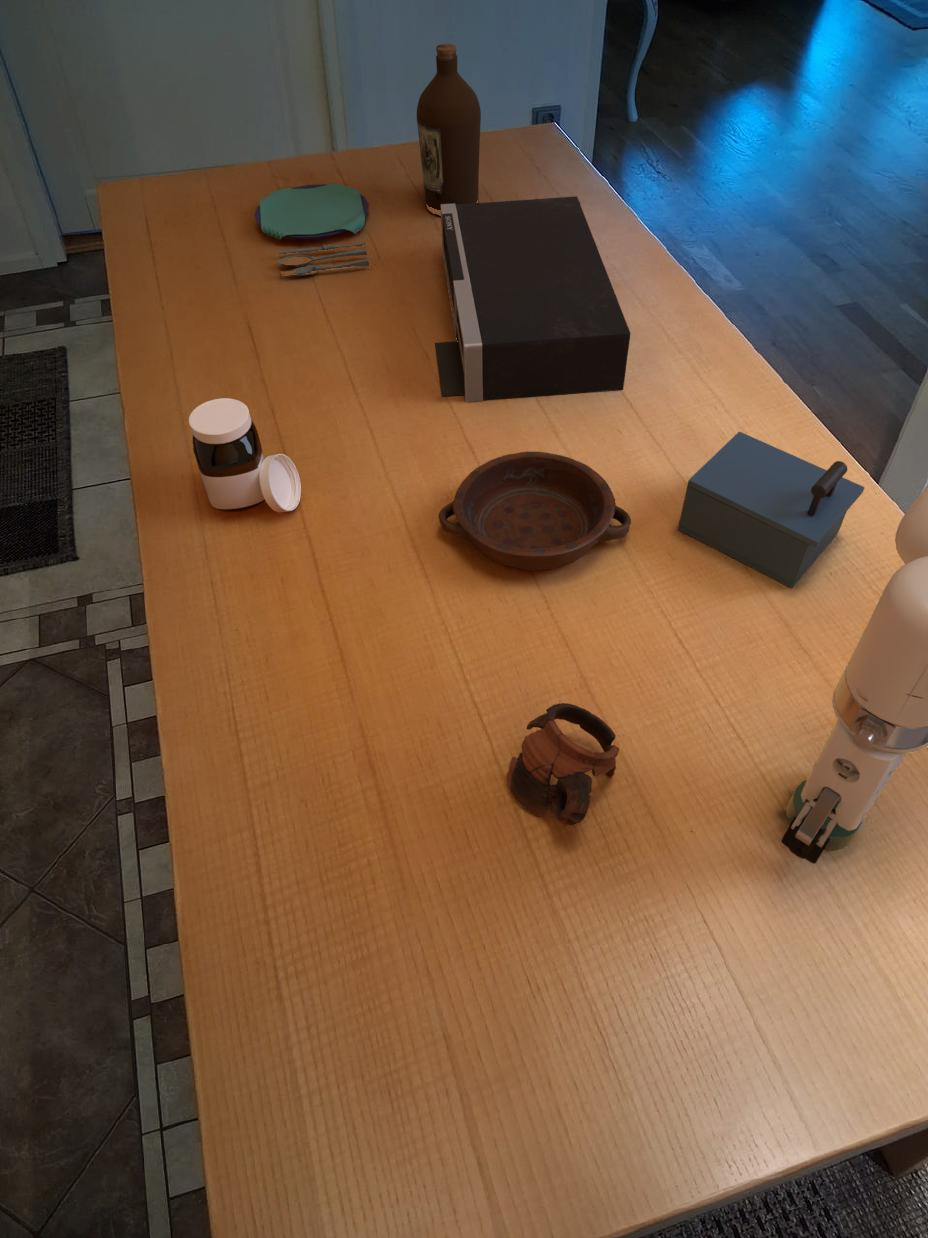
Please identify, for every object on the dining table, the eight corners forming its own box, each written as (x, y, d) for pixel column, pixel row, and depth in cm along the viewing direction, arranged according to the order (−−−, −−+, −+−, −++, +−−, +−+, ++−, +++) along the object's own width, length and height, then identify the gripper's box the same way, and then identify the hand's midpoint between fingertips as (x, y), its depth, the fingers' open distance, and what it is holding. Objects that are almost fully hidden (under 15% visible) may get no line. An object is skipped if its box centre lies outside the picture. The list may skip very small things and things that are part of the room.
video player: (623, 390, 123) (630, 332, 116) (442, 404, 122) (439, 347, 115) (572, 247, 149) (576, 194, 142) (423, 258, 147) (420, 204, 141)
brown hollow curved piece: (491, 751, 86) (527, 686, 82) (576, 770, 89) (614, 708, 86) (516, 847, 76) (559, 778, 73) (611, 864, 80) (656, 799, 76)
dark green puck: (846, 790, 82) (854, 776, 80) (863, 851, 78) (872, 838, 76) (780, 789, 82) (786, 775, 80) (793, 850, 78) (801, 837, 76)
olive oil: (461, 187, 164) (457, 30, 145) (493, 208, 158) (493, 48, 139) (411, 202, 161) (400, 43, 142) (441, 225, 155) (434, 63, 136)
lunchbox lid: (862, 492, 98) (877, 456, 94) (815, 548, 93) (829, 512, 89) (737, 436, 105) (747, 400, 101) (687, 485, 99) (695, 449, 96)
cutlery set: (364, 189, 164) (363, 176, 163) (382, 270, 145) (381, 257, 143) (255, 200, 163) (253, 187, 161) (258, 284, 143) (256, 270, 142)
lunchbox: (837, 533, 104) (855, 489, 98) (791, 588, 98) (808, 544, 93) (726, 481, 110) (737, 436, 105) (677, 529, 105) (687, 485, 100)
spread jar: (206, 473, 113) (182, 395, 104) (295, 457, 115) (279, 380, 106) (213, 537, 106) (187, 459, 97) (308, 519, 107) (291, 441, 98)
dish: (443, 481, 111) (441, 449, 107) (621, 481, 110) (626, 449, 107) (435, 584, 100) (433, 553, 96) (634, 586, 99) (640, 554, 95)
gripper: (890, 809, 60) (818, 911, 73) (985, 654, 69) (906, 771, 82) (788, 748, 64) (737, 856, 77) (891, 607, 72) (829, 726, 85)
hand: (824, 812), depth 79 cm, fingers open, 9 cm apart
